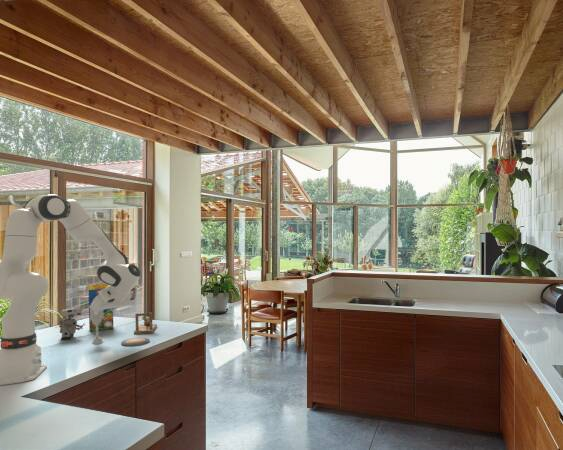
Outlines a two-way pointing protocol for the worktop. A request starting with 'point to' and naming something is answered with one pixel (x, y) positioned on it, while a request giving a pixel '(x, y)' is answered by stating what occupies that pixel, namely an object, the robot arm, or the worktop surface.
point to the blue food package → (107, 313)
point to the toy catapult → (145, 324)
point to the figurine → (69, 322)
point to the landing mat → (135, 341)
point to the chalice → (96, 321)
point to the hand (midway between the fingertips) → (104, 312)
